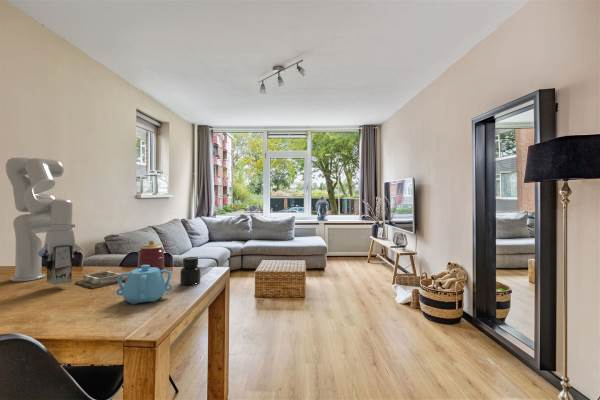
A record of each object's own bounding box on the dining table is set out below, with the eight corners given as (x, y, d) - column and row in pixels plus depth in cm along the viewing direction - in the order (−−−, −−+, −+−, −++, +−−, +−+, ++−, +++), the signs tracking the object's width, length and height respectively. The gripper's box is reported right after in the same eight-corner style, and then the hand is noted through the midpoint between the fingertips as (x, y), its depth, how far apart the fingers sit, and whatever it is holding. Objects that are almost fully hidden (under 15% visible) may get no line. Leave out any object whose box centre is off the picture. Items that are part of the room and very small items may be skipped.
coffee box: (72, 282, 130) (73, 245, 130) (54, 285, 125) (55, 247, 124) (63, 278, 135) (64, 243, 135) (46, 281, 129) (47, 245, 129)
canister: (131, 275, 153) (132, 241, 153) (148, 269, 166) (148, 238, 166) (154, 276, 151) (154, 242, 151) (169, 270, 164) (169, 239, 164)
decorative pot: (111, 302, 113) (112, 266, 113) (150, 291, 127) (150, 259, 127) (137, 310, 105) (137, 272, 105) (175, 297, 119) (176, 263, 119)
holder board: (75, 283, 137) (75, 276, 137) (111, 276, 151) (111, 269, 151) (92, 289, 129) (92, 281, 129) (129, 280, 142) (129, 273, 143)
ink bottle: (204, 281, 143) (204, 256, 144) (195, 286, 135) (196, 260, 135) (185, 280, 144) (185, 256, 145) (175, 285, 136) (176, 259, 136)
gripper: (79, 225, 139) (78, 263, 139) (32, 228, 124) (30, 270, 124) (87, 227, 135) (86, 265, 135) (39, 229, 120) (38, 273, 120)
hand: (59, 267), depth 130 cm, fingers closed on coffee box, 6 cm apart
